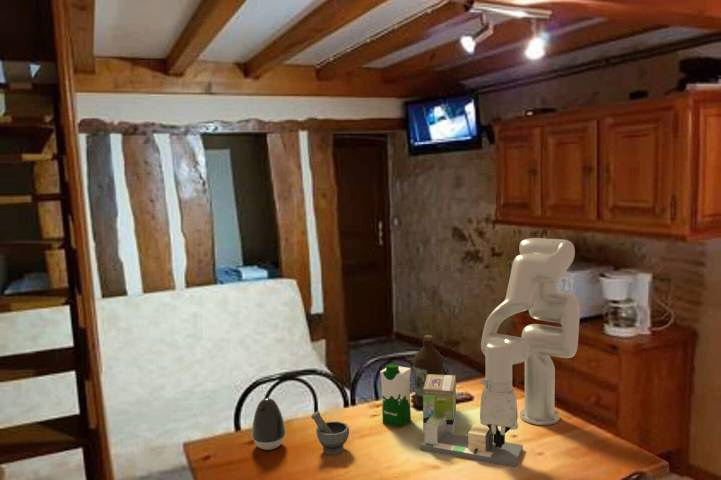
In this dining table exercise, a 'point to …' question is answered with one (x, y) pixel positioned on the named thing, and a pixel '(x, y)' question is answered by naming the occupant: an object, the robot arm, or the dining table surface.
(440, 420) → the light grey block
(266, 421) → the aroma diffuser
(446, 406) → the tea box
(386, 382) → the milk carton
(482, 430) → the block
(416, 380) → the olive oil
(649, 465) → the dining table surface
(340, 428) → the mortar and pestle
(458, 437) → the base
